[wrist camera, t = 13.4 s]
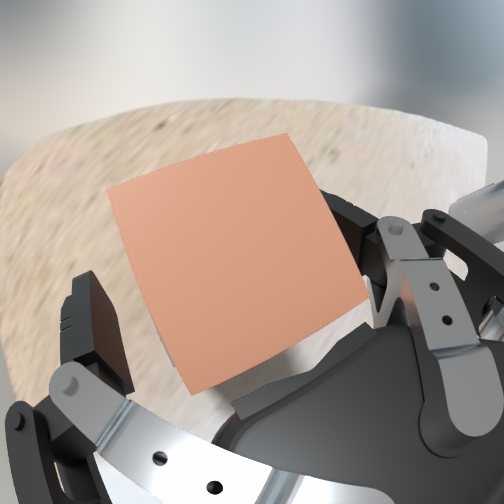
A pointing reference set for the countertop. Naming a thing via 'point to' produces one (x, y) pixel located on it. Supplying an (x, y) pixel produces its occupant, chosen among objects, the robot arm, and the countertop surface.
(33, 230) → the countertop surface
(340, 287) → the pillar
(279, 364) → the countertop surface
